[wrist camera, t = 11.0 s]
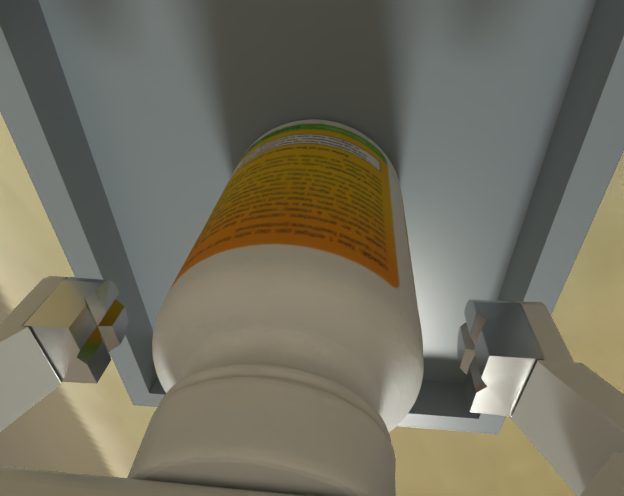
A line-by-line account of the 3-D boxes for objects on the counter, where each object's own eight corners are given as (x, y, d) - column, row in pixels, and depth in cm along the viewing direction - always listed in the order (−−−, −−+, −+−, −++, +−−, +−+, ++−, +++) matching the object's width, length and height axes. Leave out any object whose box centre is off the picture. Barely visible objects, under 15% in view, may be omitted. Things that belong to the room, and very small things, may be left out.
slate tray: (-58, -224, 9) (-171, -265, 7) (721, -270, 8) (840, -339, 6) (155, 360, 21) (133, 405, 19) (484, 383, 20) (498, 434, 18)
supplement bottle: (202, 162, 14) (-15, 467, 6) (355, 80, 12) (336, 374, 4) (288, 279, 16) (218, 600, 8) (425, 228, 14) (499, 584, 6)
